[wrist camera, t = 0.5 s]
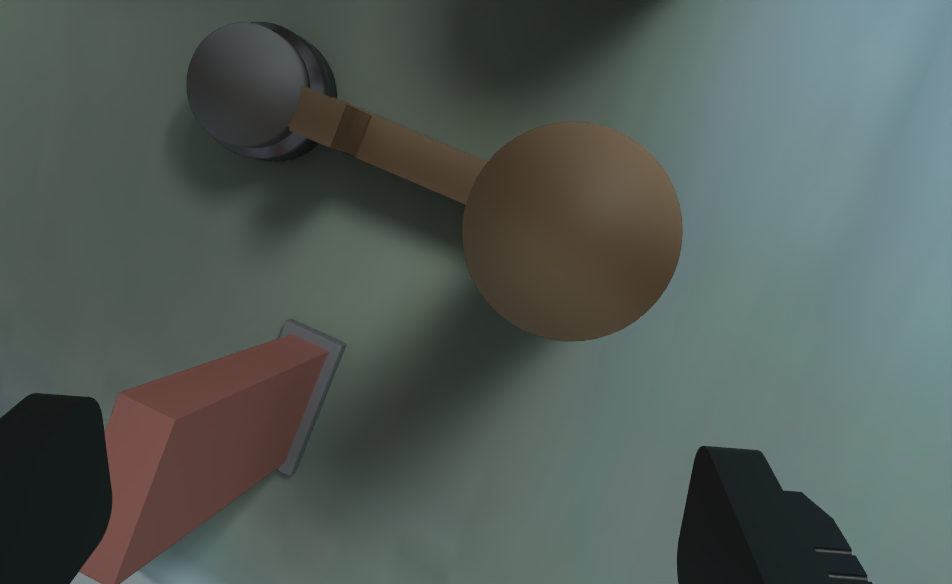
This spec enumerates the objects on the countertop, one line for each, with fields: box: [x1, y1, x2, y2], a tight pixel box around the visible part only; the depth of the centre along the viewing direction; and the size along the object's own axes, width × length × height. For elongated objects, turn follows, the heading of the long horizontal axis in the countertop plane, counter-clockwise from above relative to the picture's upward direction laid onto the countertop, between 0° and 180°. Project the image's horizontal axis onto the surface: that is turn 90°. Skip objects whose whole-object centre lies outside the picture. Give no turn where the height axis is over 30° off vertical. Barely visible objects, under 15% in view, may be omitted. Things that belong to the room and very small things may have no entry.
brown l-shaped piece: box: [187, 22, 683, 341], centre depth 27 cm, size 5×21×18 cm, turn 67°
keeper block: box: [79, 319, 346, 584], centre depth 31 cm, size 7×3×14 cm, turn 157°
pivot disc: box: [213, 22, 337, 162], centre depth 36 cm, size 6×6×2 cm
